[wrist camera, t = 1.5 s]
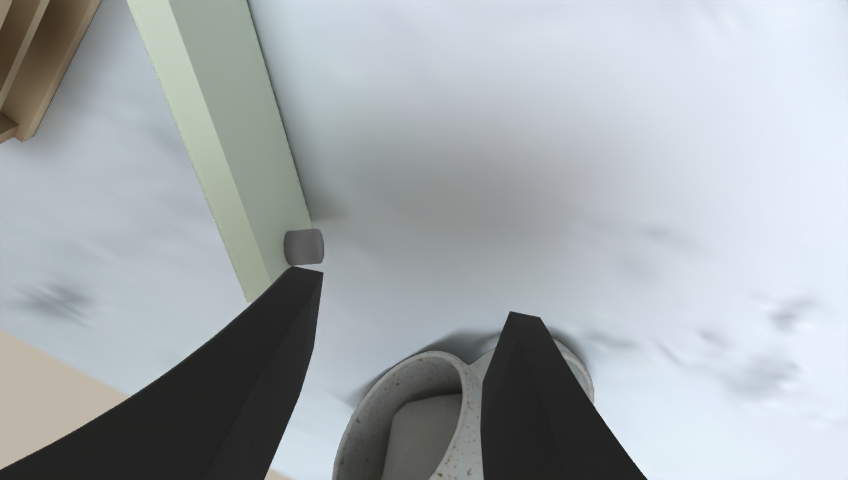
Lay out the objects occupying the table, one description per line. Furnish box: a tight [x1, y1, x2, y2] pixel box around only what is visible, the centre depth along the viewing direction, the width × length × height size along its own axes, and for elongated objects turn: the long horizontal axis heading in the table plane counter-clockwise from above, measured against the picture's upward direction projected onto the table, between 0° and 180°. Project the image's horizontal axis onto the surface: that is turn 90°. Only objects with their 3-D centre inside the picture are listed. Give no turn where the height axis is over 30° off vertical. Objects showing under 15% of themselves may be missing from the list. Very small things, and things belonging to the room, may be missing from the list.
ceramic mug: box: [332, 339, 594, 480], centre depth 23 cm, size 11×8×8 cm
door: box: [126, 0, 324, 302], centre depth 16 cm, size 10×2×5 cm, turn 8°
